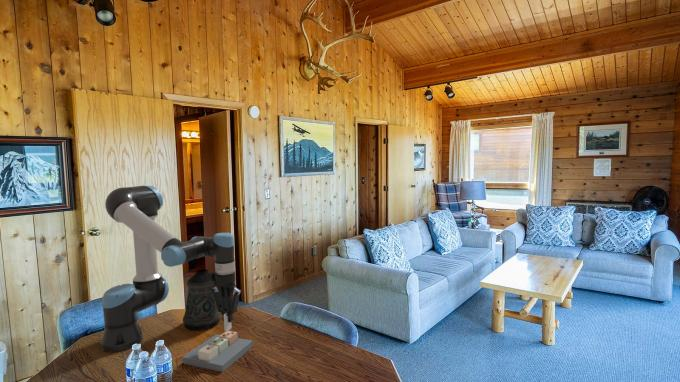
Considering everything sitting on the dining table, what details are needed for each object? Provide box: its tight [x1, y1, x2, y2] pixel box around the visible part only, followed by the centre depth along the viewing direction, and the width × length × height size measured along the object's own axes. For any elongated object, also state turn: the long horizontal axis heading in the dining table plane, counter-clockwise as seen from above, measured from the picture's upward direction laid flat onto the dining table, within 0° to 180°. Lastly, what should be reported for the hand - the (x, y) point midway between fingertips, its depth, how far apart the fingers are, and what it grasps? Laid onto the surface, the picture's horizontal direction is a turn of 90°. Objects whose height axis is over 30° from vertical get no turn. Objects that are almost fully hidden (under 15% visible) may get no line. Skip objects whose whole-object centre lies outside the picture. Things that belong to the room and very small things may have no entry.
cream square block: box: [198, 345, 218, 362], centre depth 137 cm, size 5×5×4 cm
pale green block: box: [209, 337, 228, 353], centre depth 143 cm, size 5×5×4 cm
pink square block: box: [219, 330, 239, 346], centre depth 148 cm, size 5×5×4 cm
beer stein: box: [182, 269, 222, 332], centre depth 171 cm, size 16×19×25 cm
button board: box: [181, 333, 254, 373], centre depth 143 cm, size 18×19×2 cm
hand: (228, 329), depth 148 cm, fingers closed
